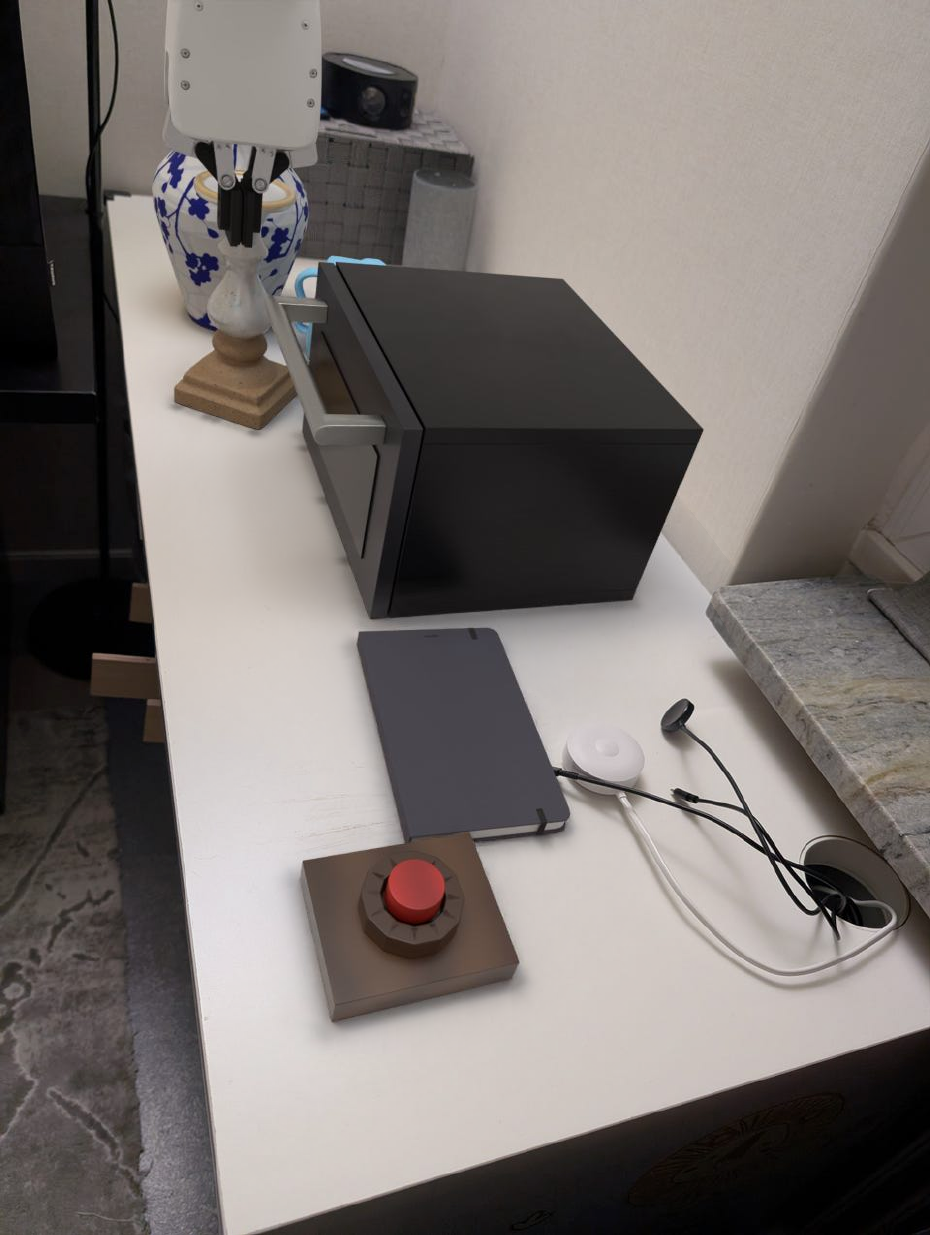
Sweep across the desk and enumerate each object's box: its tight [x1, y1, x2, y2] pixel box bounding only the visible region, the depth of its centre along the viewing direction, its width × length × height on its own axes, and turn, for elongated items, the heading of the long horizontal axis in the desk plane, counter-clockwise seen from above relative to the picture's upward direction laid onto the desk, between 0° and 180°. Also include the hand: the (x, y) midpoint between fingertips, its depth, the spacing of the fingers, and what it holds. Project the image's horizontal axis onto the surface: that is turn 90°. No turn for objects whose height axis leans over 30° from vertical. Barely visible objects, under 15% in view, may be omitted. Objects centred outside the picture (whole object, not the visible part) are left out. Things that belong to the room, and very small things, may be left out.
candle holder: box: [173, 169, 298, 430], centre depth 99 cm, size 11×11×24 cm
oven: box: [335, 262, 705, 619], centre depth 91 cm, size 26×32×20 cm
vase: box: [151, 141, 310, 331], centre depth 112 cm, size 19×19×30 cm
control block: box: [299, 832, 520, 1022], centre depth 58 cm, size 12×10×4 cm
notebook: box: [356, 627, 571, 843], centre depth 73 cm, size 13×2×21 cm
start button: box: [385, 859, 445, 924], centre depth 57 cm, size 4×4×2 cm
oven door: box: [264, 261, 423, 619], centre depth 85 cm, size 8×32×20 cm, turn 19°
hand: (238, 240), depth 68 cm, fingers closed
